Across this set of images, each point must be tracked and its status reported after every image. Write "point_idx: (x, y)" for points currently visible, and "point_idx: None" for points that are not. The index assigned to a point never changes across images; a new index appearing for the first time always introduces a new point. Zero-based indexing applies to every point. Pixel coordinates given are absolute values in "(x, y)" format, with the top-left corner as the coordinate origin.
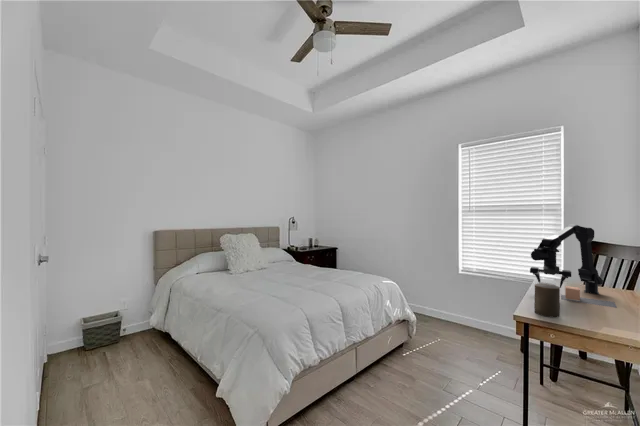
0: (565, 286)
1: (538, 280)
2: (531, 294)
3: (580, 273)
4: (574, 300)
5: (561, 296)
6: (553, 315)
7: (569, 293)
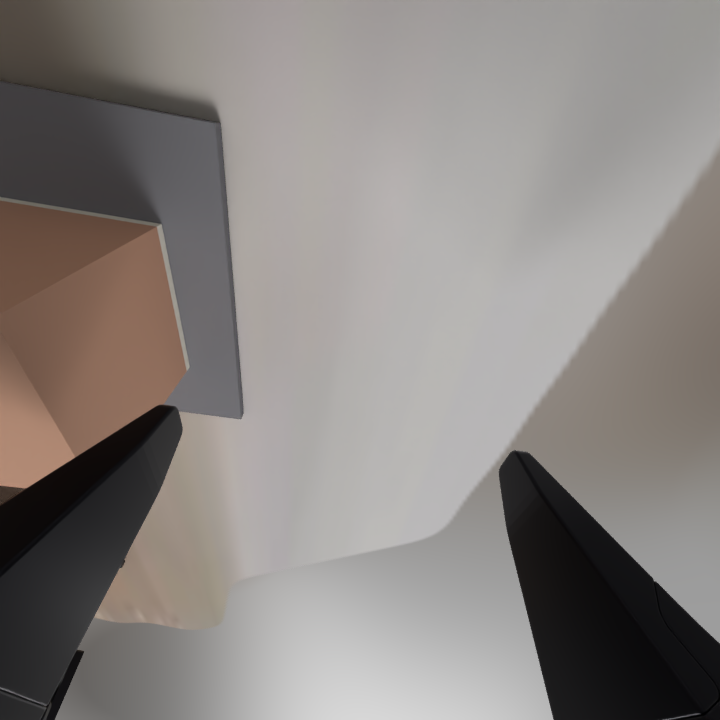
0: None
1: (624, 559)
2: (592, 305)
3: None
4: (30, 180)
5: (228, 342)
6: None
7: (19, 251)
